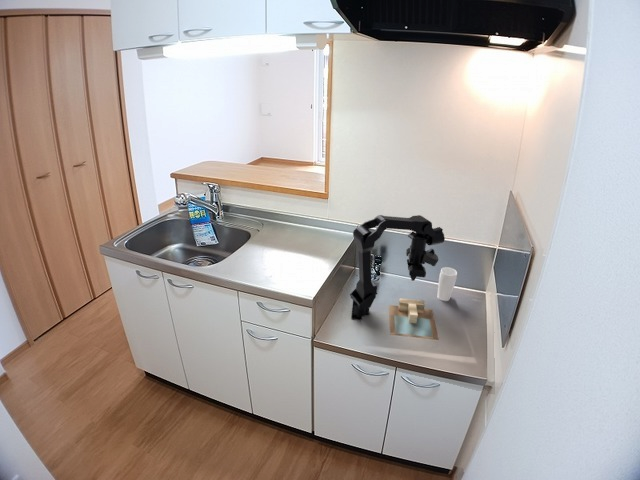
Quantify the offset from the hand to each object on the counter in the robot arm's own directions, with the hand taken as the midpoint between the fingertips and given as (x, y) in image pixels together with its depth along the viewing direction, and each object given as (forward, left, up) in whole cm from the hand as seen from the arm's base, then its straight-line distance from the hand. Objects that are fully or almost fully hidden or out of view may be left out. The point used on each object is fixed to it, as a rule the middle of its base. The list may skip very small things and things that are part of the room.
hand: (412, 279), depth 151 cm
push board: (0, -14, -12) cm, 19 cm away
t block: (0, -10, -10) cm, 15 cm away
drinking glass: (+15, +4, -12) cm, 20 cm away
